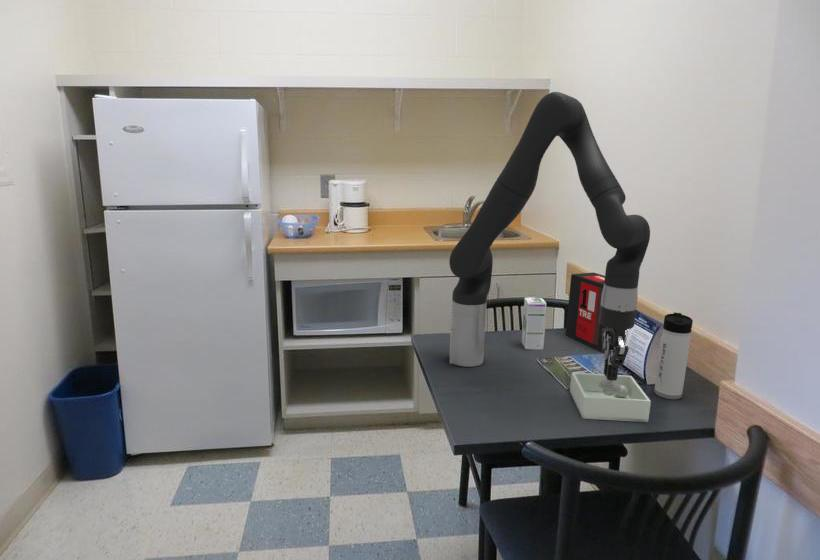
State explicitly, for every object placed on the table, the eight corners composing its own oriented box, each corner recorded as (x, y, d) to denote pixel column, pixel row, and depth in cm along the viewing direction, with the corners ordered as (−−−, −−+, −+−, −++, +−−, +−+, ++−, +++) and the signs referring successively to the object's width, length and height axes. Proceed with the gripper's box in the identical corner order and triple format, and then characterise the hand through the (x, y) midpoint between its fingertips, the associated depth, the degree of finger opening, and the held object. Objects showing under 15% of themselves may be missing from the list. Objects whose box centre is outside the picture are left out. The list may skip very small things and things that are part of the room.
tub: (582, 418, 128) (584, 397, 127) (569, 391, 142) (571, 372, 141) (648, 422, 127) (650, 401, 126) (628, 395, 141) (631, 375, 140)
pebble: (616, 399, 137) (617, 387, 136) (612, 393, 140) (613, 382, 139) (628, 400, 137) (630, 388, 136) (625, 394, 140) (626, 383, 139)
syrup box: (543, 350, 170) (548, 302, 167) (523, 349, 170) (527, 301, 167) (539, 343, 176) (543, 297, 172) (520, 342, 176) (524, 296, 172)
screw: (616, 389, 136) (622, 398, 131) (595, 388, 136) (600, 397, 132) (622, 337, 133) (628, 344, 128) (600, 336, 133) (606, 343, 129)
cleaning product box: (625, 349, 173) (633, 284, 168) (602, 352, 169) (609, 286, 165) (587, 332, 188) (593, 272, 183) (565, 335, 184) (571, 274, 179)
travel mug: (680, 390, 144) (691, 314, 140) (683, 401, 138) (695, 321, 133) (653, 386, 146) (663, 310, 141) (654, 397, 140) (665, 318, 135)
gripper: (593, 296, 136) (586, 365, 140) (609, 312, 122) (601, 389, 126) (626, 297, 135) (618, 367, 139) (645, 314, 122) (636, 390, 126)
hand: (610, 377), depth 133 cm, fingers closed on screw, 2 cm apart
